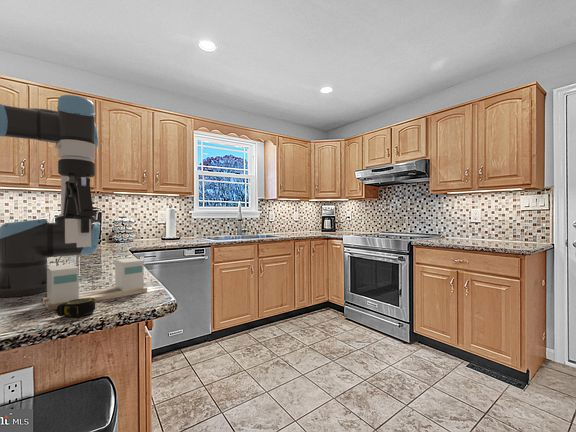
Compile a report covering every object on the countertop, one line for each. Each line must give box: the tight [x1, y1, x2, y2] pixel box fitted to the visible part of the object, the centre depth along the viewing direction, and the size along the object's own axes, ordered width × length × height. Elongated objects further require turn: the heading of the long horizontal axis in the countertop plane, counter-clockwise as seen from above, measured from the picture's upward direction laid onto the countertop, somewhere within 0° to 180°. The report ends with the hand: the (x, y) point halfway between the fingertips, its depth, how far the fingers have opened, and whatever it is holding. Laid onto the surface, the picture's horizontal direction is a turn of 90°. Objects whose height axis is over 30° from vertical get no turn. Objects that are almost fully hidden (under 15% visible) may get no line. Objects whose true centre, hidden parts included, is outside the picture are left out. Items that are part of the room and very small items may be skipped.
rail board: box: [42, 285, 148, 311], centre depth 89 cm, size 10×25×2 cm, turn 136°
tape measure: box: [54, 298, 96, 318], centre depth 74 cm, size 7×7×4 cm
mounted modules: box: [46, 257, 145, 304], centre depth 89 cm, size 8×24×9 cm, turn 137°
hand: (77, 245), depth 73 cm, fingers open, 13 cm apart
